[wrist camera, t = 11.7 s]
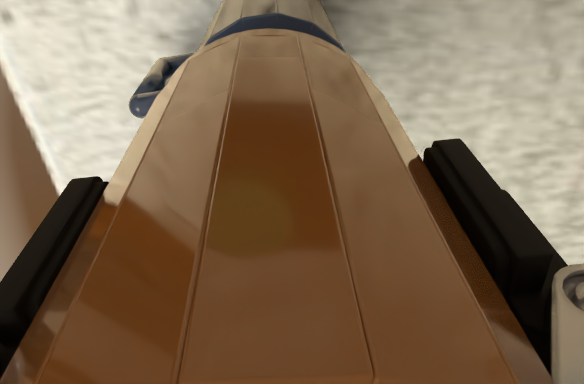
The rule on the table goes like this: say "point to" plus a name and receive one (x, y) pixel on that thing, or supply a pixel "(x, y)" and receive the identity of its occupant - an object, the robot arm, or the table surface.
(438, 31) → the table surface
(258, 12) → the mug
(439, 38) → the table surface
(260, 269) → the glass
